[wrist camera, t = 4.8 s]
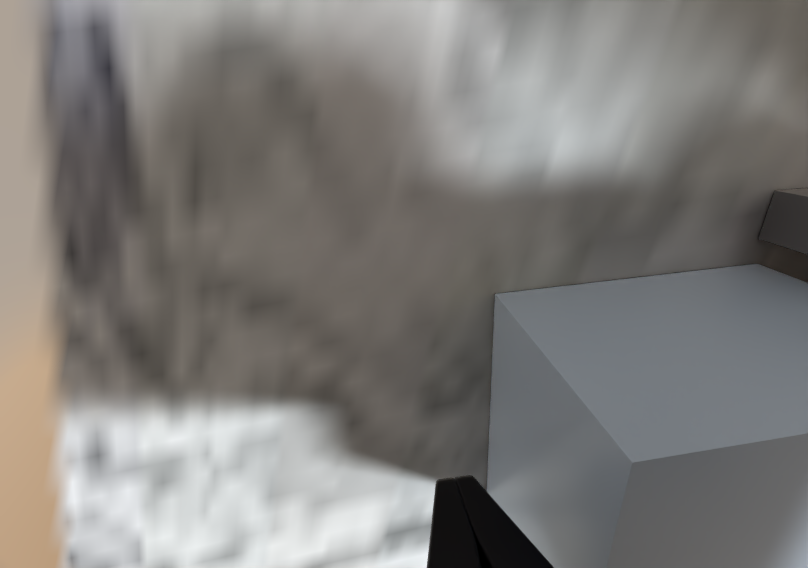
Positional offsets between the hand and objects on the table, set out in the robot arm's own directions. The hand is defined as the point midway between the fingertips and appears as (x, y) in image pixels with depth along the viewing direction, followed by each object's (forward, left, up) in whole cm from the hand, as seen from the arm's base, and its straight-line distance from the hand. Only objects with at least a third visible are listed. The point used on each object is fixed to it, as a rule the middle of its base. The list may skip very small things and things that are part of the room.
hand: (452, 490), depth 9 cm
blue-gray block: (-5, 0, -2) cm, 6 cm away
